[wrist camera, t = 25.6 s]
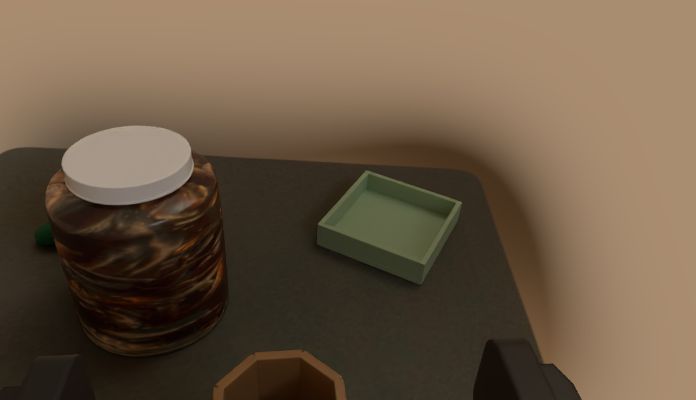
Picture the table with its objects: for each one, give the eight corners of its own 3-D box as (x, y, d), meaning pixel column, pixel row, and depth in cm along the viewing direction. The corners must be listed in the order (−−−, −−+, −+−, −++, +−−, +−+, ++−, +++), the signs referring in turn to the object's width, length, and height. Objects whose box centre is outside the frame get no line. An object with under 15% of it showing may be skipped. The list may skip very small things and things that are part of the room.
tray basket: (457, 221, 60) (462, 201, 59) (420, 285, 52) (425, 264, 51) (364, 189, 64) (366, 170, 62) (316, 244, 56) (317, 224, 54)
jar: (168, 239, 55) (146, 98, 46) (255, 297, 50) (249, 151, 41) (52, 309, 47) (-2, 156, 38) (141, 387, 42) (102, 230, 33)
